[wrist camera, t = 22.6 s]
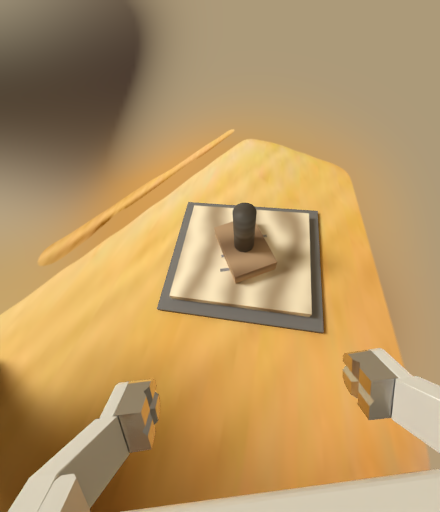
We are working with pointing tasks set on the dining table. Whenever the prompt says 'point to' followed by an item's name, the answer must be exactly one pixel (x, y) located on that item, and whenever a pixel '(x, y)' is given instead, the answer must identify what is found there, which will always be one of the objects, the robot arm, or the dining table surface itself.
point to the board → (256, 288)
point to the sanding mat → (242, 314)
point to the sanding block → (244, 245)
